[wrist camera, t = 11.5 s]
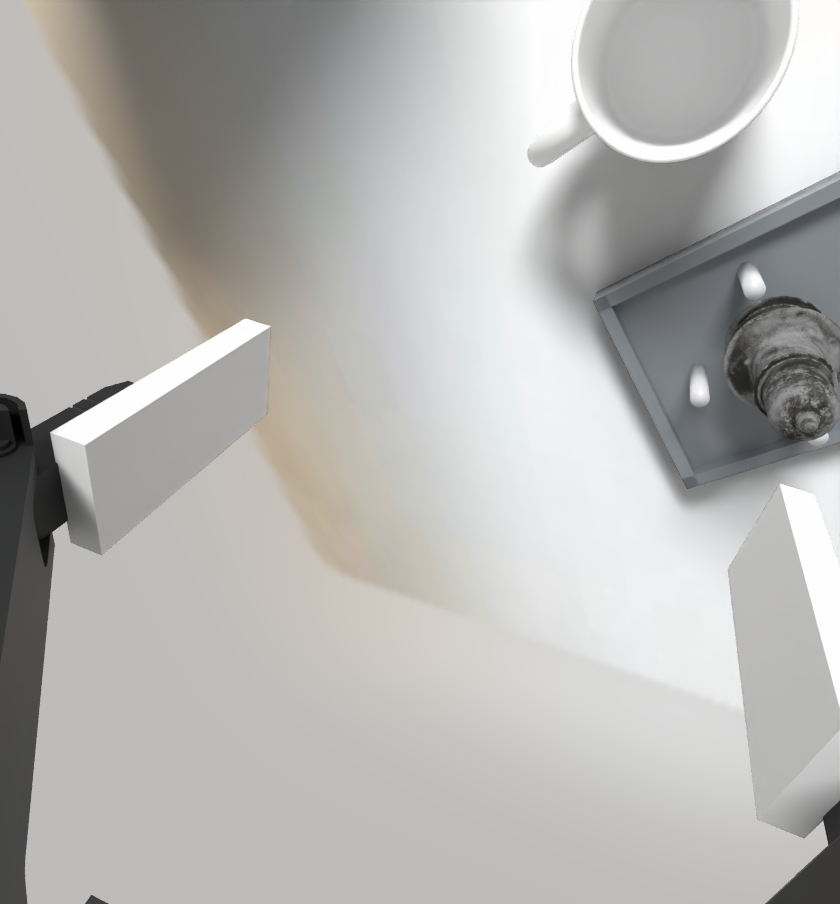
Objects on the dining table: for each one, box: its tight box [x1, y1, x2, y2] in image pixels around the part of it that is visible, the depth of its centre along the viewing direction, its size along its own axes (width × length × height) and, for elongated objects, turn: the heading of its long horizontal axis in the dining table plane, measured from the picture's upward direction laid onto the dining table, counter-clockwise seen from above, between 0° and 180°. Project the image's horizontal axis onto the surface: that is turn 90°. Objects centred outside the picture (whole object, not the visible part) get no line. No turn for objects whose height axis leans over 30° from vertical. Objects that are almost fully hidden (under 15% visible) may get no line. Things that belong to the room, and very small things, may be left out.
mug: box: [528, 0, 799, 167], centre depth 30 cm, size 12×8×10 cm
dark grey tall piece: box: [723, 296, 840, 442], centre depth 32 cm, size 6×6×12 cm
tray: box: [593, 171, 840, 489], centre depth 36 cm, size 14×16×6 cm
